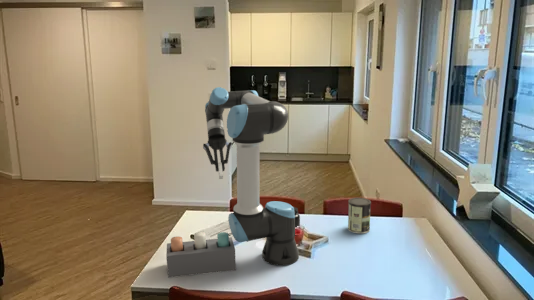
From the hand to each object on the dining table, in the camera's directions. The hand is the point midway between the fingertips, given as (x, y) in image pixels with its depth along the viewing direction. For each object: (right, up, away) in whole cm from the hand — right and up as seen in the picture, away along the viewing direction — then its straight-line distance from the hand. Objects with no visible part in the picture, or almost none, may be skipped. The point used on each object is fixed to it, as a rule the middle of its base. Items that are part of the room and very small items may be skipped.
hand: (221, 177), depth 191 cm
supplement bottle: (+31, -27, +19) cm, 45 cm away
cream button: (-7, -27, -14) cm, 31 cm away
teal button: (+2, -28, -12) cm, 30 cm away
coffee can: (+63, -26, +22) cm, 71 cm away
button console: (-7, -35, -12) cm, 37 cm away
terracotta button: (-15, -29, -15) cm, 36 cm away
